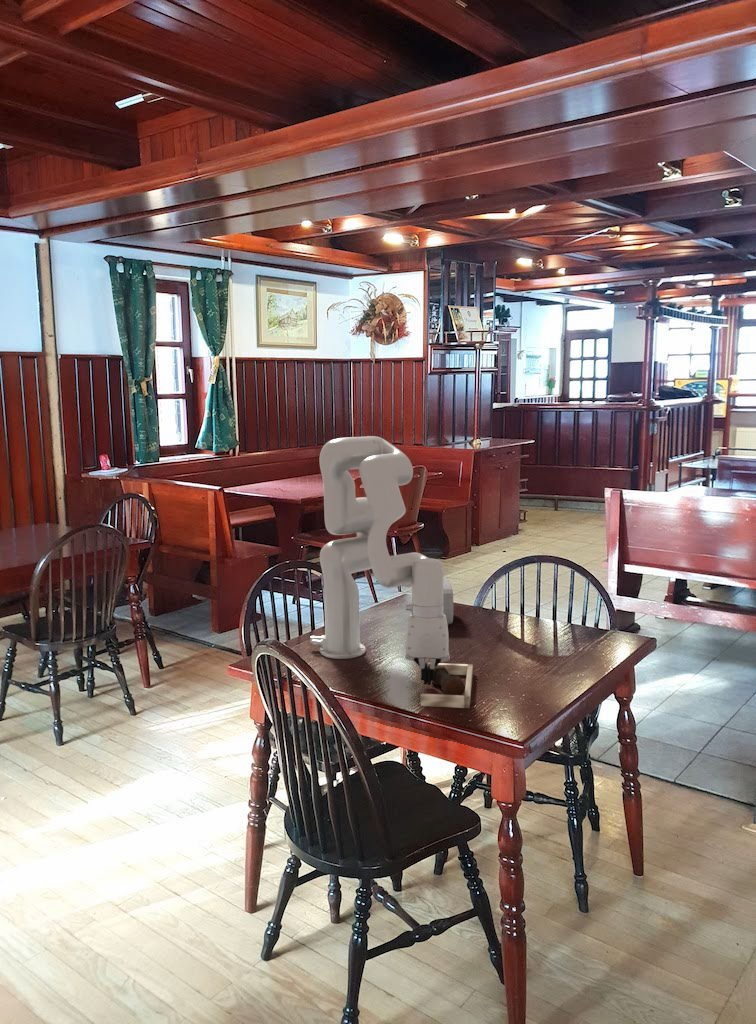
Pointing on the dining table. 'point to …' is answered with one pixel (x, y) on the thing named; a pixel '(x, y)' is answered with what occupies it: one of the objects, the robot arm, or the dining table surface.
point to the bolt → (448, 681)
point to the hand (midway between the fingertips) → (427, 682)
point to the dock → (452, 700)
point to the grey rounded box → (447, 601)
